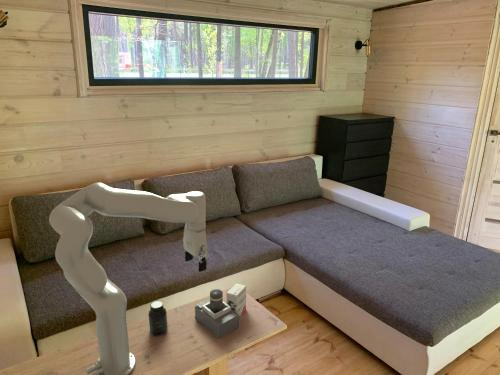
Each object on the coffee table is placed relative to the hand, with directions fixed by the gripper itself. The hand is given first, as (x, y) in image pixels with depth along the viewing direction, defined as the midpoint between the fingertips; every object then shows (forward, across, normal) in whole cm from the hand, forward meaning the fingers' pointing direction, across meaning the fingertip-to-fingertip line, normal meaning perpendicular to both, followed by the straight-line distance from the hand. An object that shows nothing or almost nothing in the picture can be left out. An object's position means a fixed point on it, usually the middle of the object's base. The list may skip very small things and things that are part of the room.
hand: (195, 265), depth 144 cm
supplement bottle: (+26, -4, -14) cm, 30 cm away
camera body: (+25, +6, +6) cm, 27 cm away
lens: (+19, +6, +6) cm, 21 cm away
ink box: (+25, +6, +16) cm, 31 cm away
